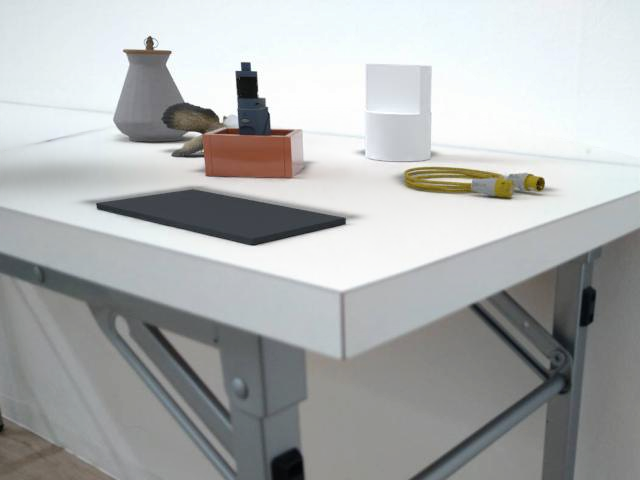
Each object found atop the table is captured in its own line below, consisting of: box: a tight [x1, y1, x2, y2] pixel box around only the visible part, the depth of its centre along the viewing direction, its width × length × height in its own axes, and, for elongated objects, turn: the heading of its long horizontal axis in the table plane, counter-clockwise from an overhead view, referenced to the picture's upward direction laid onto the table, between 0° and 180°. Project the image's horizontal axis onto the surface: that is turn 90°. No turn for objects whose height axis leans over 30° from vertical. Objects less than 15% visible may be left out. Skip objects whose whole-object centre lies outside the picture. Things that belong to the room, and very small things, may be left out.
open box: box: [201, 127, 305, 179], centre depth 86 cm, size 10×9×4 cm
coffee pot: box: [112, 35, 189, 143], centre depth 116 cm, size 21×12×15 cm, turn 18°
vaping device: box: [235, 61, 272, 135], centre depth 84 cm, size 3×5×12 cm, turn 172°
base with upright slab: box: [364, 63, 433, 162], centre depth 100 cm, size 9×9×12 cm
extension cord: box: [403, 166, 546, 199], centre depth 80 cm, size 12×16×2 cm
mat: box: [95, 188, 347, 246], centre depth 63 cm, size 20×10×1 cm, turn 55°
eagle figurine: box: [161, 101, 239, 157], centre depth 99 cm, size 8×7×9 cm
